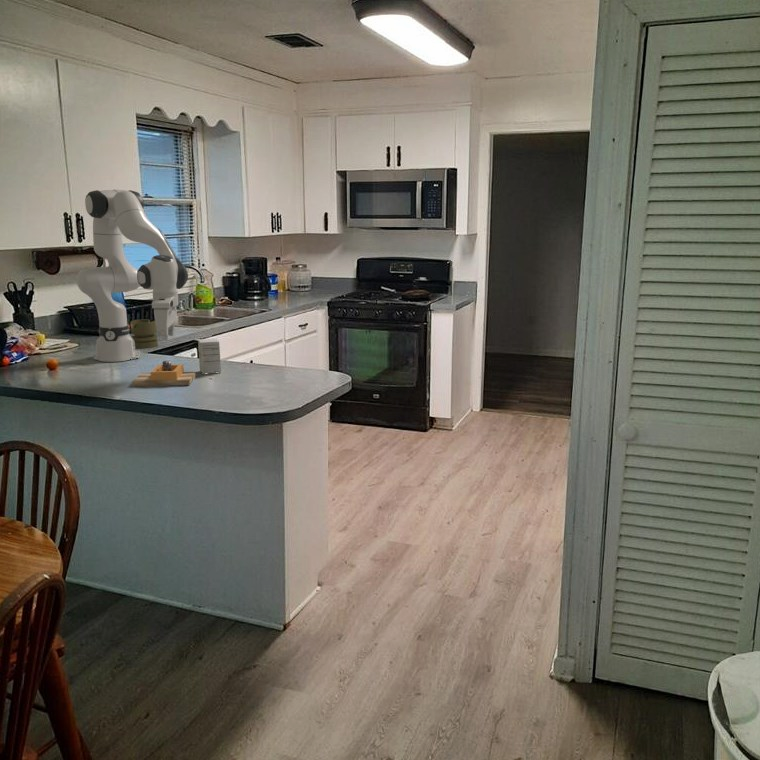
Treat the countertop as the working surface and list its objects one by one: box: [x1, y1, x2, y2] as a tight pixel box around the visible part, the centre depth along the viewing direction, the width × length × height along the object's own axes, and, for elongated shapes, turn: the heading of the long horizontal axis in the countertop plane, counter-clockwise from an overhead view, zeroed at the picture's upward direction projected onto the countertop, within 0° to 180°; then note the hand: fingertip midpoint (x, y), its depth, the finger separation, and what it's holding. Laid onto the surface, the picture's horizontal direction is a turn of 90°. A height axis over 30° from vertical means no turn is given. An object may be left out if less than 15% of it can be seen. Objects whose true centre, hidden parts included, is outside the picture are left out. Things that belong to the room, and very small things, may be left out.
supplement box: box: [197, 338, 222, 375], centre depth 275 cm, size 7×7×13 cm
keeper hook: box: [161, 360, 172, 371], centre depth 259 cm, size 4×3×6 cm, turn 4°
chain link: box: [150, 363, 185, 380], centre depth 260 cm, size 13×9×3 cm
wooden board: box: [131, 371, 197, 387], centre depth 261 cm, size 14×20×2 cm
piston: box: [130, 318, 159, 350], centre depth 330 cm, size 11×12×11 cm
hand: (168, 337), depth 263 cm, fingers open, 8 cm apart
